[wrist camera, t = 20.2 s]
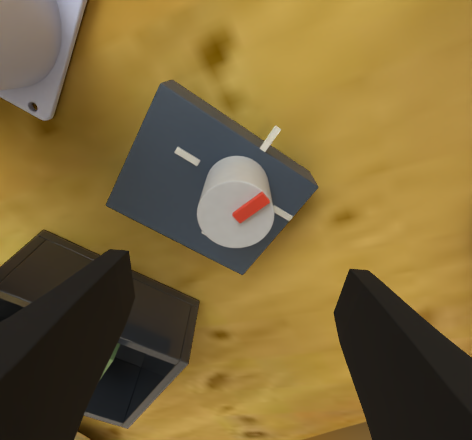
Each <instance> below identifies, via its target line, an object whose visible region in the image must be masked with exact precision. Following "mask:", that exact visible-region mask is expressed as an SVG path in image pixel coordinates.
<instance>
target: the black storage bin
mask: <svg viewBox="0 0 472 440" xmlns="http://www.w3.org/2000/svg"><path fill="white" fill-rule="evenodd" d="M99 256H100V255H98V254H96V253H94V252H91V251H89V250H87V249H85V248H83V247H80V246H78V245H76V244H74V243H72V242H70V241H67V240H65V239H63V238H61V237H59V236H56V235H54V234H52V233H50V232H48V231H46V230H42V231H41V232H40V233H39V234H38V235H37V236H35V237H34V238H33V239H32V240H31V241H30V242H28V243H27V244H26V245H25V246H24V247H23V248H21V249H20V250H19V251H18V252H17V253H16V254H14V255H13V256H12V257H11V258H10V259H9V260H8V261H6V262H5V263H4V264H3V265H2V266H1V267H0V322H1V321H3V320H5V319H6V318H8V317H10V316H11V315H13V314H15V313H16V312H18V311H19V310H21V309H22V308H24V307H26V306H27V305H29V304H30V303H32V302H33V301H35V300H37V299H38V298H40V297H41V296H43V295H44V294H46V293H47V292H49V291H51V290H52V289H53V288H55V287H56V286H58V285H59V284H61V283H62V282H64V281H65V280H66V279H68V278H69V277H71V276H72V275H74V274H75V273H77V272H78V271H79V270H81V269H82V268H84V267H85V266H86V265H88V264H89V263H91V262H92V261H93V260H95V259H96V258H98V257H99ZM132 277H133V284H134V291H135V299H134V302H133V305H132V309H131V312H130V315H129V317H128V320H127V323H126V326H125V328H124V330H123V332H122V335H121V337H120V339H119V341H118V343H119V344H120V346H119V348H118V351H117V353H116V355H115V358H114V360H113V362H112V363H111V364H110V366H109V367H108V369H107V370H106V372H105V373H104V375H103V376H102V378H101V379H100V380H99V382H98V384H97V386H96V389H95V391H94V393H93V395H92V397H91V399H90V401H89V404H88V406H87V408H86V411H85V413H84V416H87V417H90V418H94V419H97V420H100V421H104V422H107V423H110V424H113V425H117V426H121V427H124V428H127V429H128V428H129V427H130V426H131V425H132V424H133V423H134V422H135V421H136V419H137V418H138V417H139V416H140V415H141V414H142V413H143V412H144V411H145V410H146V409H147V408H148V407H149V406H150V405H151V403H152V402H153V401H154V400H155V399H156V398H157V397H158V396H159V395H160V394H161V393H162V392H163V391H164V390H165V388H166V387H167V386H168V385H169V384H170V383H171V382H172V381H173V380H174V379H175V378H176V377H177V376H178V375H179V374H180V372H181V371H182V370H183V369H184V368H185V367H186V366H187V365H188V364H189V359H190V353H191V348H192V342H193V336H194V331H195V325H196V320H197V314H198V308H199V301H198V300H196V299H194V298H192V297H190V296H187V295H185V294H183V293H181V292H179V291H177V290H174V289H172V288H170V287H168V286H166V285H163V284H161V283H159V282H157V281H155V280H153V279H150V278H148V277H146V276H144V275H142V274H139V273H137V272H135V271H133V270H132Z"/></svg>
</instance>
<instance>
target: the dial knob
mask: <svg viewBox="0 0 472 440" xmlns="http://www.w3.org/2000/svg"><path fill="white" fill-rule="evenodd" d="M197 219H198V223H199V226H200V228H201V230H202V231H203V233H204V234H205V235H206V236H207V237H208V238H209V239H210V240H212V241H213V242H215V243H217V244H219V245H221V246H224V247H229V248H243V247H248V246H251V245H253V244H256V243H257V242H259V241H260V240H262V239H263V238H264V237H265V236H266V235H267V234H268V232H269V231H270V229H271V227H272V225H273V221H274V208H273V203H272V198H271V192H270V187H269V182H268V178H267V175H266V173H265V171H264V169H263V168H262V167H261V166H260V165H259V164H258V163H257V162H256V161H254V160H252V159H250V158H247V157H244V156H230V157H226V158H224V159H222V160H220V161H218V162H217V163H216V164H215V165H213V167H212V168H211V169H210V171H209V172H208V175H207V178H206V181H205V184H204V187H203V191H202V194H201V197H200V201H199V204H198V208H197Z"/></svg>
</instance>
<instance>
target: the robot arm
mask: <svg viewBox="0 0 472 440" xmlns="http://www.w3.org/2000/svg"><path fill="white" fill-rule="evenodd" d="M86 3H87V0H0V97H1V98H3V99H5V100H6V101H8V102H10V103H12V104H14V105H15V106H17V107H19V108H21V109H23V110H24V111H26V112H28V113H30V114H32V115H33V116H35V117H37V118H39V119H41V120H43V121H47V120H50V119H52V118H53V116H54V114H55V110H56V107H57V103H58V100H59V96H60V93H61V89H62V86H63V83H64V79H65V76H66V72H67V69H68V65H69V62H70V58H71V55H72V51H73V48H74V44H75V41H76V38H77V34H78V31H79V27H80V24H81V20H82V17H83V13H84V10H85V6H86ZM33 102H34V103H35V104H36V105H37V108H38V110H36V109H34V107H33V105H32V103H33ZM134 299H135V291H134V284H133V277H132V270H131V263H130V256H129V251H125V250H113V249H110V250H108V251H107V252H105V253H104V254H102V255H101V256H99V257H98V258H96V259H95V260H93V261H92V262H91V263H89V264H88V265H86V266H85V267H84V268H82V269H81V270H79V271H78V272H77V273H75V274H74V275H72V276H71V277H69V278H68V279H66V280H65V281H64V282H62V283H61V284H59V285H58V286H56V287H55V288H53V289H52V290H51V291H49V292H47V293H46V294H44V295H43V296H41V297H40V298H38V299H37V300H35V301H33V302H32V303H30V304H29V305H27V306H26V307H24V308H22V309H21V310H19V311H18V312H16V313H15V314H13V315H11V316H10V317H8V318H6V319H5V320H3V321H1V322H0V440H74V439H75V436H76V434H77V431H78V429H79V426H80V423H81V421H82V418H83V415H84V413H85V411H86V408H87V406H88V404H89V401H90V399H91V397H92V395H93V393H94V391H95V389H96V386H97V384H98V382H99V380H100V378H101V376H102V374H103V372H104V370H105V368H106V366H107V364H108V362H109V360H110V358H111V355H112V353H113V351H114V349H115V347H116V345H117V343H118V341H119V339H120V337H121V335H122V332H123V330H124V328H125V326H126V323H127V320H128V317H129V315H130V312H131V309H132V305H133V302H134ZM334 317H335V322H336V327H337V332H338V337H339V341H340V345H341V348H342V351H343V354H344V357H345V360H346V363H347V365H348V368H349V371H350V374H351V377H352V380H353V383H354V386H355V389H356V391H357V394H358V397H359V400H360V403H361V406H362V409H363V412H364V414H365V417H366V421H367V424H368V427H369V430H370V434H371V437H372V440H472V358H471V357H470V356H469V355H467V354H466V353H465V352H464V351H462V350H461V349H460V348H459V347H457V346H456V345H455V344H454V343H452V342H451V341H450V340H449V339H447V338H446V337H445V336H444V335H443V334H441V333H440V332H439V331H438V330H437V329H435V328H434V327H433V326H432V325H431V324H429V323H428V322H427V321H426V320H425V319H424V318H422V317H421V316H420V315H419V314H418V313H417V312H415V311H414V310H413V309H412V308H411V307H410V306H409V305H408V304H406V303H405V302H404V301H403V300H402V299H401V298H400V297H399V296H397V295H396V294H395V293H394V292H393V291H392V290H391V289H390V288H388V287H387V286H386V285H385V284H384V283H383V282H382V281H380V280H379V279H378V278H377V277H376V276H375V275H373V274H372V273H371V272H370V271H368V270H358V269H349V272H348V275H347V277H346V280H345V283H344V286H343V288H342V291H341V294H340V297H339V299H338V302H337V305H336V308H335V310H334Z"/></svg>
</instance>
